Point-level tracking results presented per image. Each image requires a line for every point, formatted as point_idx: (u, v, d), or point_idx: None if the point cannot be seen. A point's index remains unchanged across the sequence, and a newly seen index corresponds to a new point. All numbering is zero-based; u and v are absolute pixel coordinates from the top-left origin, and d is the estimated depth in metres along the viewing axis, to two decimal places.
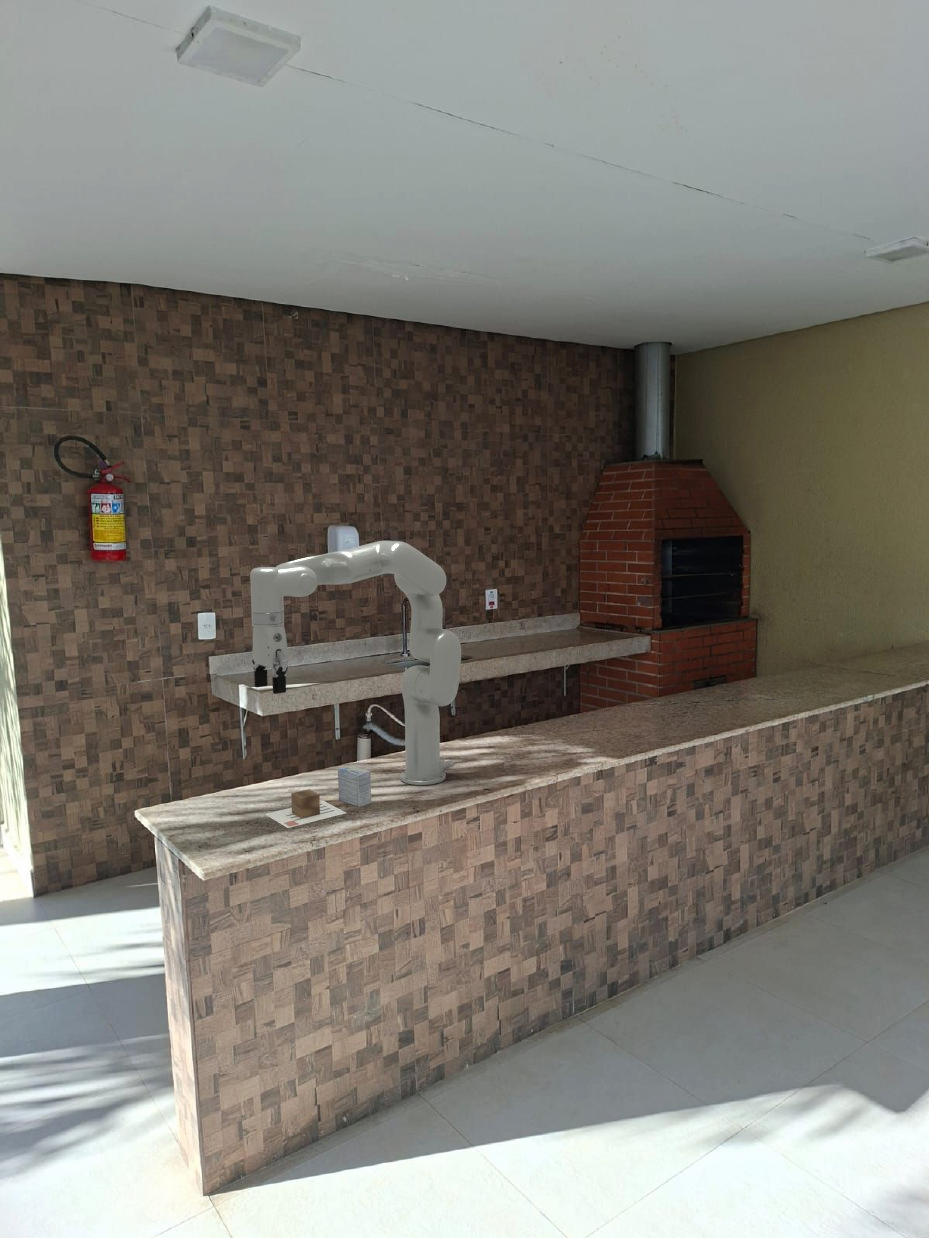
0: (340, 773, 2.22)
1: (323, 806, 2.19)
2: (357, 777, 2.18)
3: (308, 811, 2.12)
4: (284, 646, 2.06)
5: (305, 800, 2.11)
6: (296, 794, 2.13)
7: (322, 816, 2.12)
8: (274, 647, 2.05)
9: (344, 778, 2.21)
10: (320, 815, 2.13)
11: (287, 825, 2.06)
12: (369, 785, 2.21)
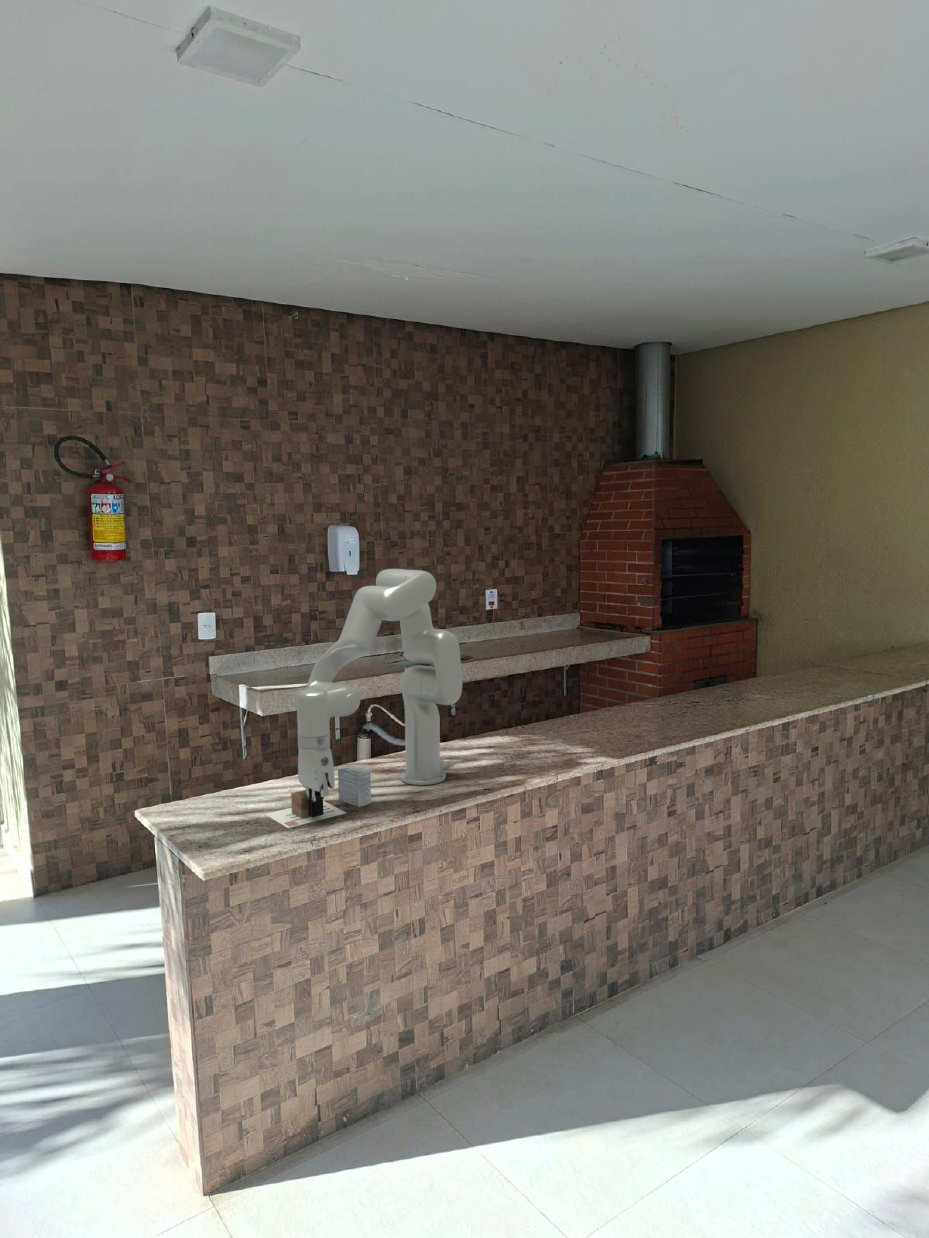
0: (340, 773, 2.22)
1: (323, 806, 2.19)
2: (357, 777, 2.18)
3: None
4: (331, 769, 2.06)
5: (305, 800, 2.11)
6: (296, 794, 2.13)
7: (322, 816, 2.12)
8: (321, 771, 2.04)
9: (344, 778, 2.21)
10: None
11: (287, 825, 2.06)
12: (369, 785, 2.21)
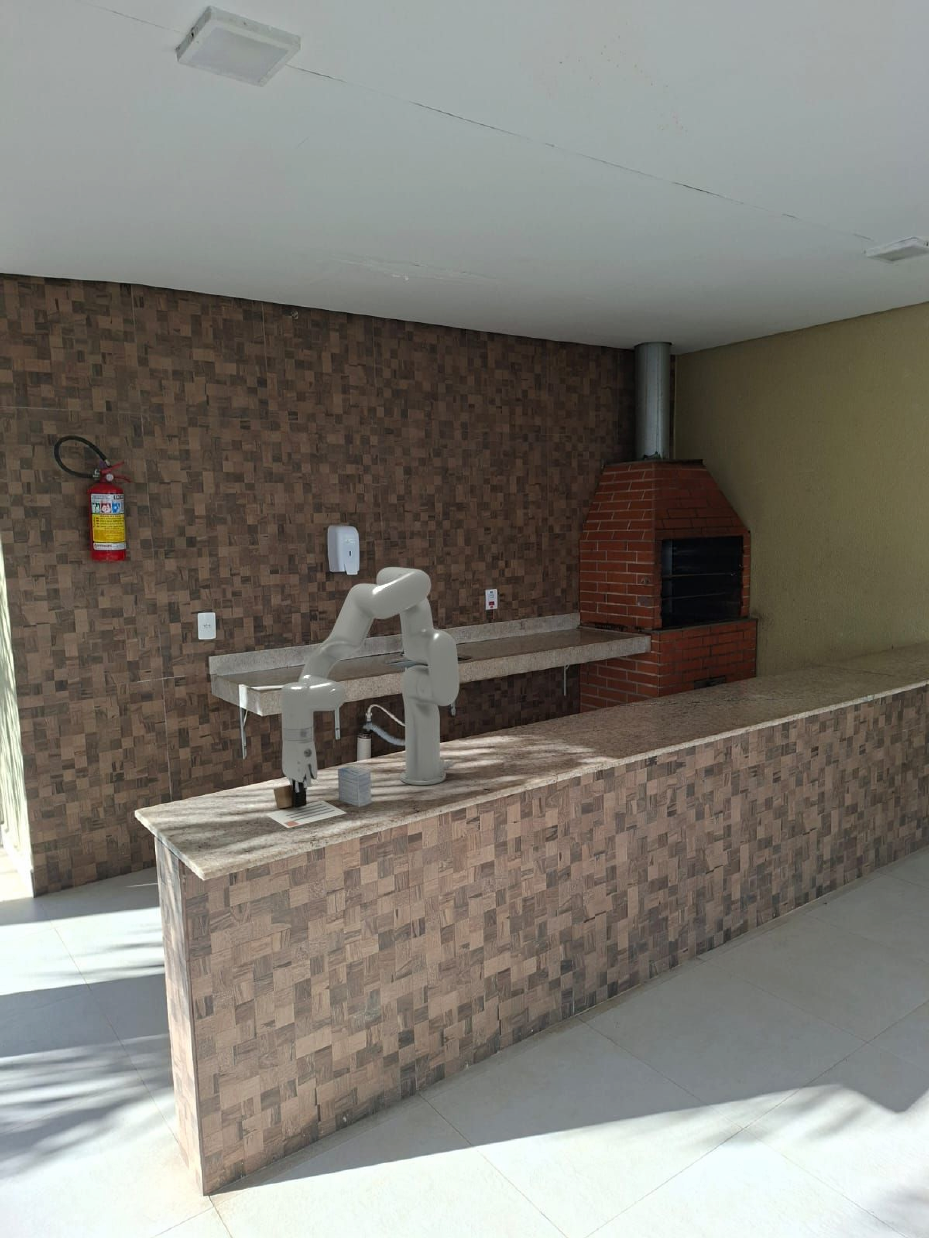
0: (340, 773, 2.22)
1: (323, 806, 2.19)
2: (357, 777, 2.18)
3: None
4: (314, 761, 2.12)
5: (287, 789, 2.16)
6: None
7: (322, 816, 2.12)
8: (304, 762, 2.10)
9: (344, 778, 2.21)
10: (320, 815, 2.13)
11: (287, 825, 2.06)
12: (369, 785, 2.21)
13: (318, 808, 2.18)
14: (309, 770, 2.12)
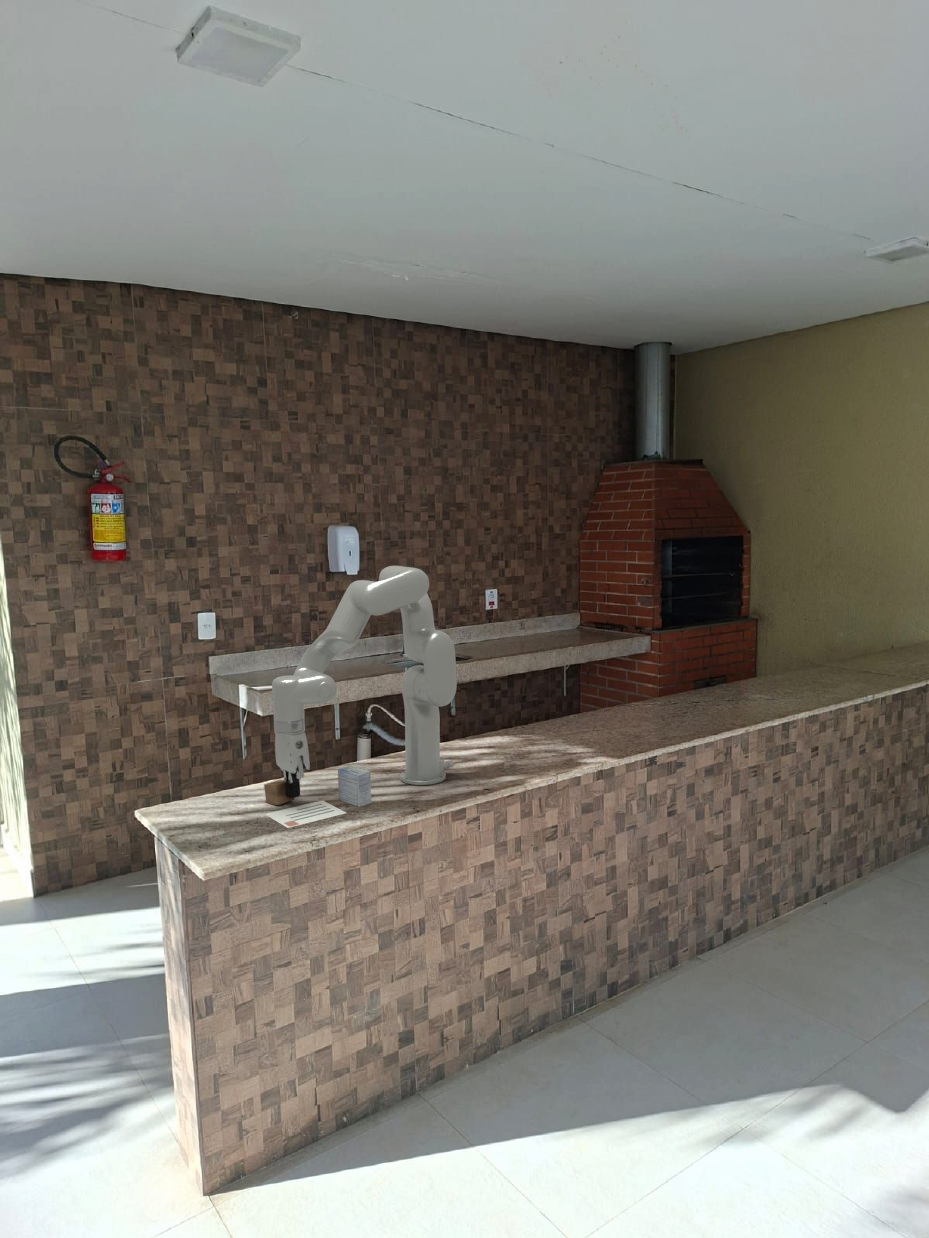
0: (340, 773, 2.22)
1: (323, 806, 2.19)
2: (357, 777, 2.18)
3: (283, 797, 2.20)
4: (306, 752, 2.16)
5: (279, 787, 2.20)
6: (269, 784, 2.22)
7: (322, 816, 2.12)
8: (296, 754, 2.14)
9: (344, 778, 2.21)
10: (320, 815, 2.13)
11: (287, 825, 2.06)
12: (369, 785, 2.21)
13: (318, 808, 2.18)
14: (301, 761, 2.16)
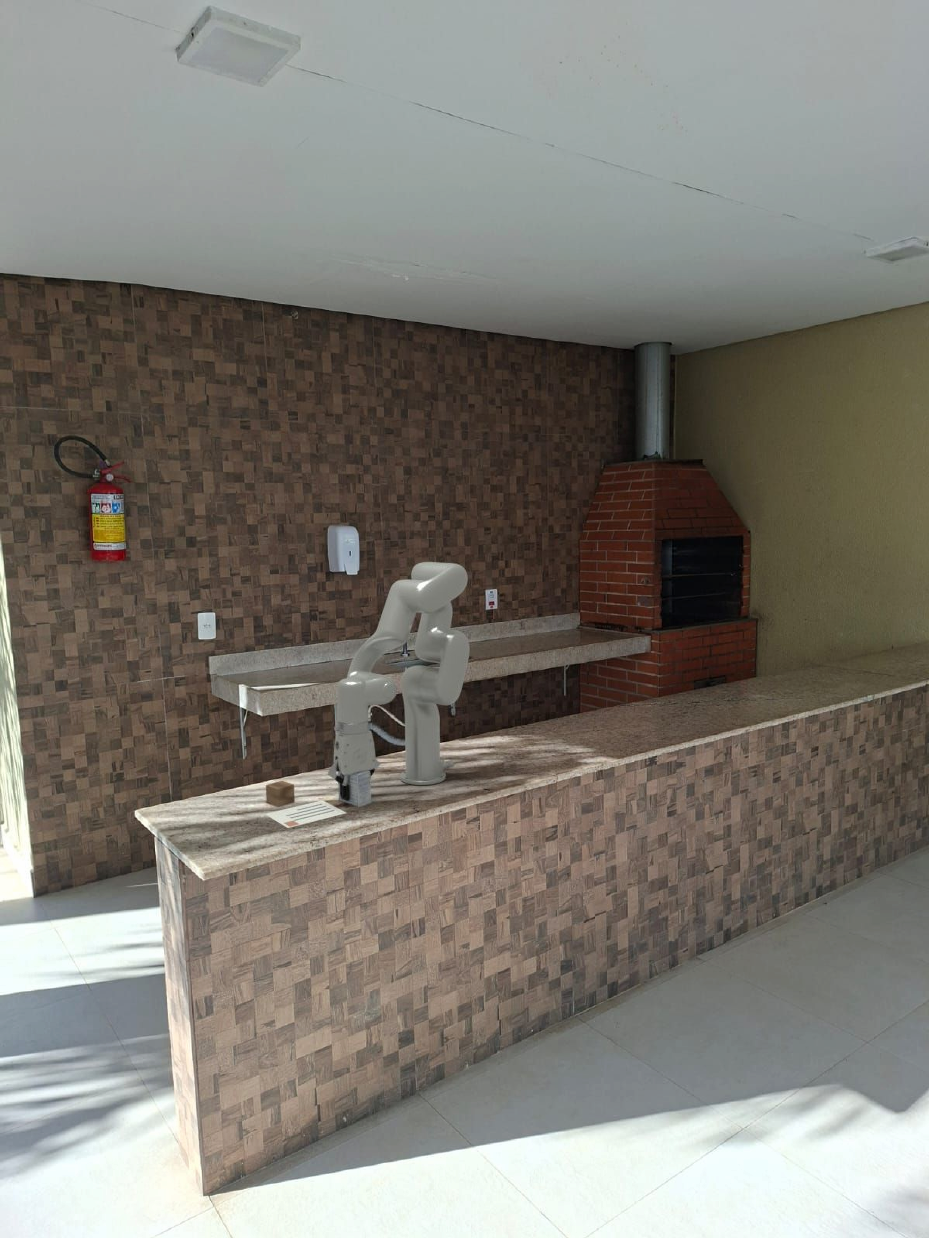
0: None
1: (323, 806, 2.19)
2: (357, 777, 2.18)
3: (284, 801, 2.20)
4: (340, 755, 2.17)
5: (281, 791, 2.19)
6: (271, 785, 2.21)
7: (322, 816, 2.12)
8: (334, 753, 2.19)
9: None
10: (320, 815, 2.13)
11: (287, 825, 2.06)
12: (369, 785, 2.21)
13: (318, 808, 2.18)
14: None
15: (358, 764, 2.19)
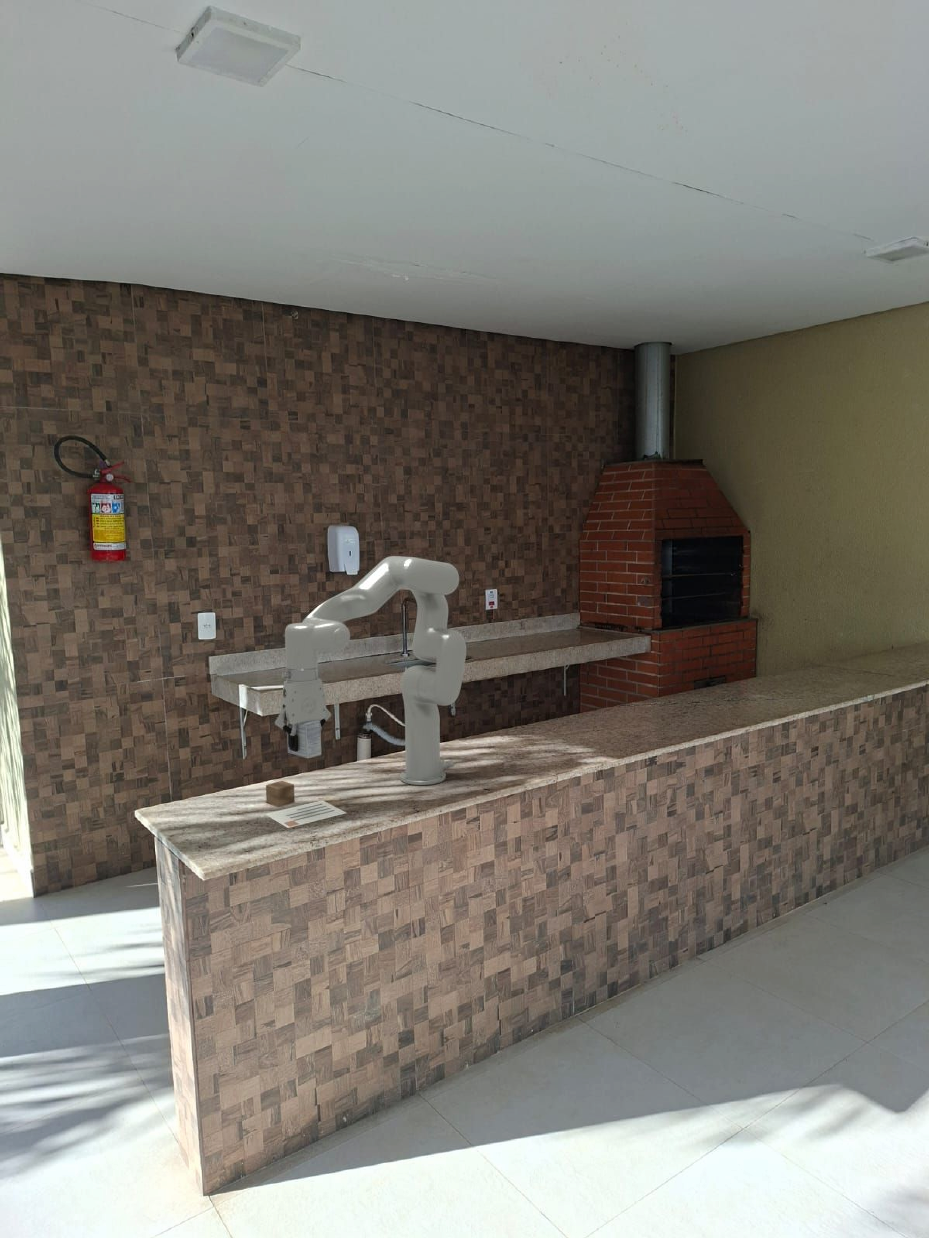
0: None
1: (323, 806, 2.19)
2: (305, 726, 2.07)
3: (284, 801, 2.20)
4: (287, 703, 2.06)
5: (281, 791, 2.19)
6: (271, 785, 2.21)
7: (322, 816, 2.12)
8: (282, 701, 2.08)
9: None
10: (320, 815, 2.13)
11: (287, 825, 2.06)
12: (319, 735, 2.10)
13: (318, 808, 2.18)
14: None
15: (306, 713, 2.08)
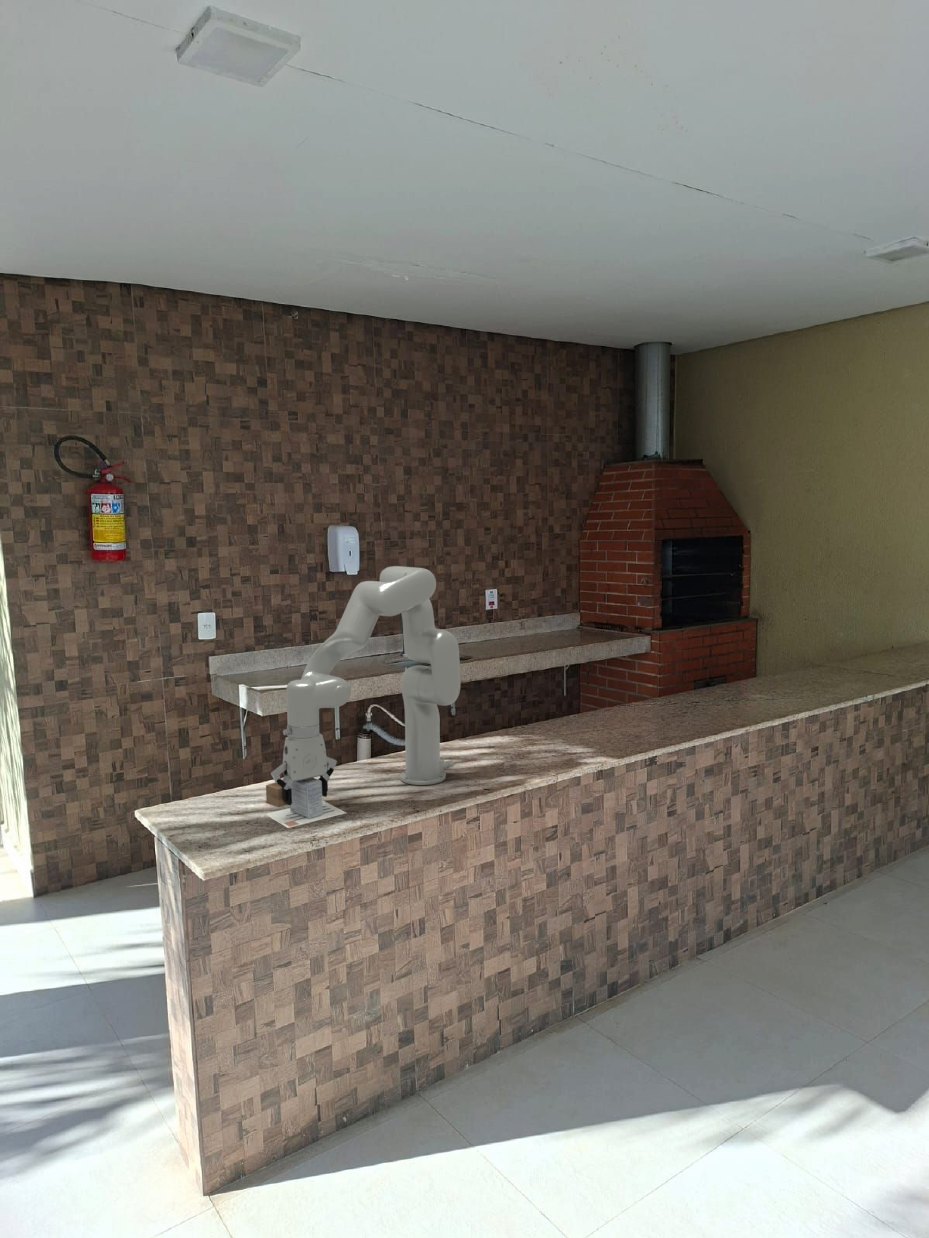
0: None
1: (323, 806, 2.19)
2: (306, 787, 2.09)
3: None
4: (288, 760, 2.08)
5: (281, 791, 2.19)
6: (271, 785, 2.21)
7: (322, 816, 2.12)
8: (284, 758, 2.10)
9: (294, 788, 2.13)
10: (320, 815, 2.13)
11: (287, 825, 2.06)
12: (320, 795, 2.12)
13: None
14: None
15: (308, 770, 2.10)
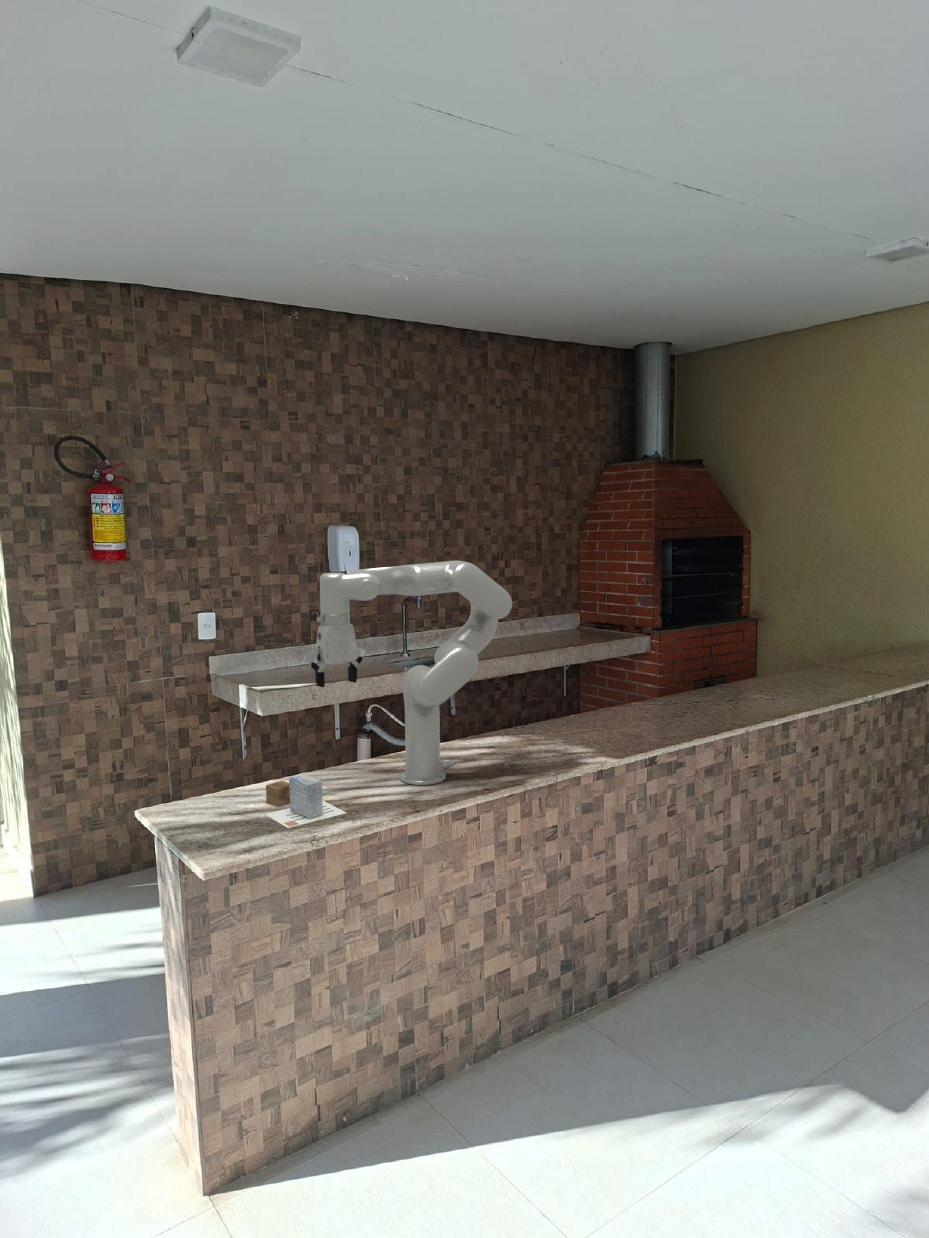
0: (290, 782, 2.14)
1: (323, 806, 2.19)
2: (306, 787, 2.09)
3: (284, 801, 2.20)
4: (322, 645, 2.26)
5: (281, 791, 2.19)
6: (271, 785, 2.21)
7: (322, 816, 2.12)
8: (317, 644, 2.28)
9: (294, 788, 2.13)
10: (320, 815, 2.13)
11: (287, 825, 2.06)
12: (320, 795, 2.12)
13: None
14: None
15: (339, 655, 2.28)
